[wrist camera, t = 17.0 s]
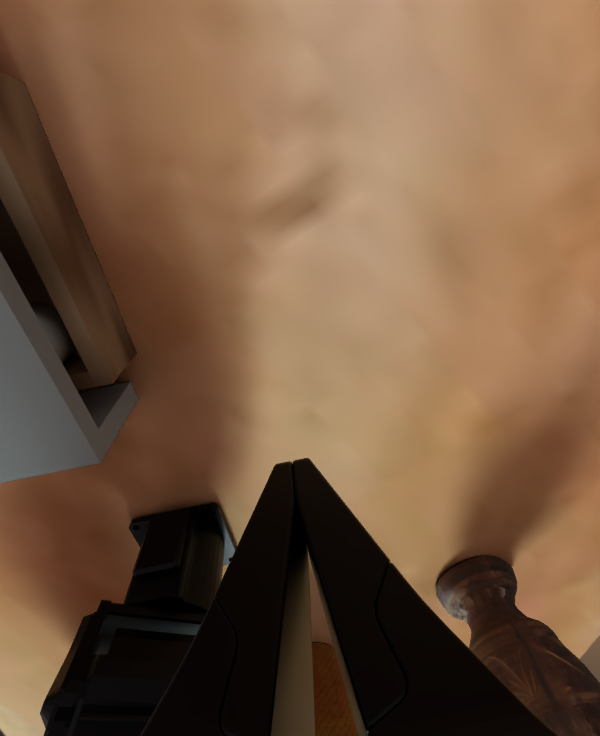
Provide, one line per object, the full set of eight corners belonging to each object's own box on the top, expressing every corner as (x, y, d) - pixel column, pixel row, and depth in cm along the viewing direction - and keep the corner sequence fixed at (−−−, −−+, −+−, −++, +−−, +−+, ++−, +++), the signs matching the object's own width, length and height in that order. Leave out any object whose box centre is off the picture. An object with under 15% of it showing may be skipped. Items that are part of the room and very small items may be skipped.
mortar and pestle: (457, 526, 29) (760, 1040, 12) (546, 525, 30) (943, 988, 13) (419, 605, 34) (588, 1046, 17) (497, 602, 36) (731, 1008, 18)
